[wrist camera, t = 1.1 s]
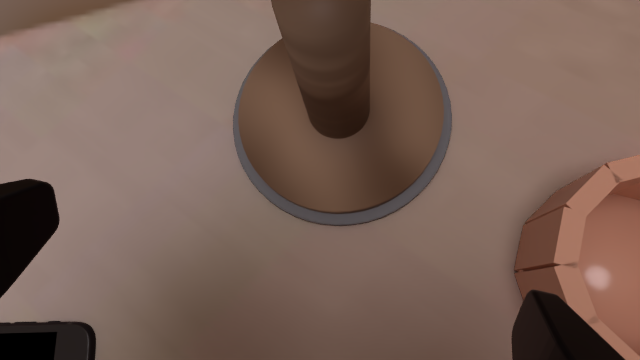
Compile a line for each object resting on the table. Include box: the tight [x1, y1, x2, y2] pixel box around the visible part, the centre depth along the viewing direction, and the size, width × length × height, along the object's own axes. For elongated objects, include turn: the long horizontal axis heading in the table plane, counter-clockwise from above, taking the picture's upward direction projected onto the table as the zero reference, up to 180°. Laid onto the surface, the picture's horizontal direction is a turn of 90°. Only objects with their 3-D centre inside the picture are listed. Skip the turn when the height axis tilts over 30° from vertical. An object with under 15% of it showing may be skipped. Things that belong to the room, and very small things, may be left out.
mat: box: [233, 25, 452, 226], centre depth 23 cm, size 11×11×1 cm
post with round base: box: [238, 0, 444, 214], centre depth 18 cm, size 10×10×10 cm
